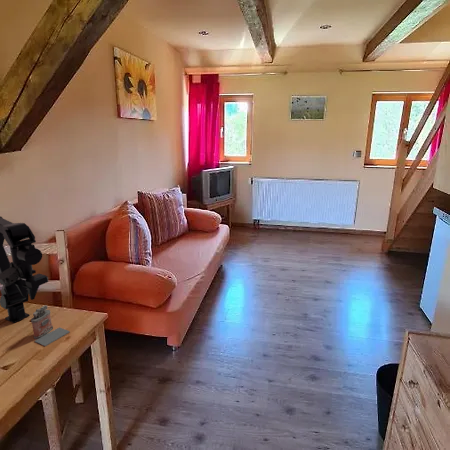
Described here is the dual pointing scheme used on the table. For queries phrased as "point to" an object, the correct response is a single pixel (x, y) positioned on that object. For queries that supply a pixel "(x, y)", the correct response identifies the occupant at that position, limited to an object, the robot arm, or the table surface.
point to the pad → (52, 336)
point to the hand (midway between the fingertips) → (28, 298)
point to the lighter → (41, 322)
